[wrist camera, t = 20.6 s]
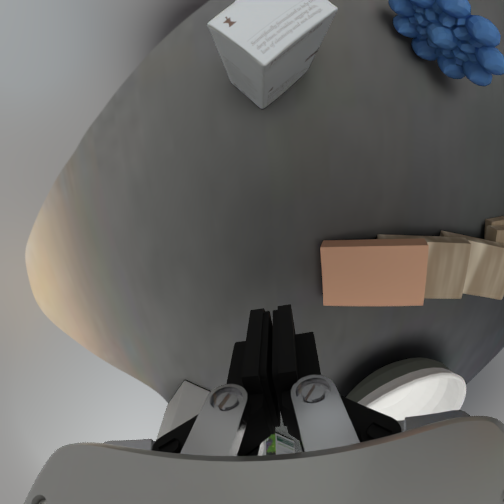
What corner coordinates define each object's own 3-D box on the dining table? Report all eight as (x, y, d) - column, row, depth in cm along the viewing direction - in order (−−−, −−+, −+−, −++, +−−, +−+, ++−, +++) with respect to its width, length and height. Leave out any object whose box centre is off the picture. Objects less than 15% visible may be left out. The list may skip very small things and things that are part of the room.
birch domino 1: (377, 234, 26) (464, 237, 23) (373, 288, 28) (456, 289, 25) (378, 240, 25) (471, 243, 21) (374, 297, 27) (461, 298, 23)
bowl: (352, 436, 38) (361, 474, 30) (299, 384, 33) (305, 434, 25) (449, 380, 34) (469, 414, 26) (426, 307, 29) (460, 345, 21)
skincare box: (263, 111, 23) (265, 74, 11) (227, 80, 22) (200, 25, 10) (310, 69, 21) (346, 11, 10) (274, 39, 20) (283, -33, 9)
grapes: (466, 75, 20) (537, 61, 8) (439, 103, 21) (518, 92, 10) (398, -3, 17) (450, -51, 6) (364, 18, 19) (415, -39, 7)
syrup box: (295, 440, 38) (301, 515, 24) (270, 452, 39) (270, 523, 26) (270, 429, 37) (271, 510, 23) (245, 442, 38) (240, 517, 24)
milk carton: (233, 399, 34) (219, 527, 16) (210, 422, 36) (192, 532, 19) (185, 378, 33) (148, 507, 15) (167, 404, 35) (133, 514, 18)
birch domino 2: (440, 230, 26) (510, 245, 22) (429, 280, 28) (496, 292, 24) (444, 235, 24) (516, 251, 20) (432, 287, 26) (501, 300, 22)
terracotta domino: (323, 305, 27) (422, 305, 23) (320, 247, 25) (428, 245, 21) (326, 295, 28) (420, 295, 25) (323, 240, 27) (424, 238, 23)
